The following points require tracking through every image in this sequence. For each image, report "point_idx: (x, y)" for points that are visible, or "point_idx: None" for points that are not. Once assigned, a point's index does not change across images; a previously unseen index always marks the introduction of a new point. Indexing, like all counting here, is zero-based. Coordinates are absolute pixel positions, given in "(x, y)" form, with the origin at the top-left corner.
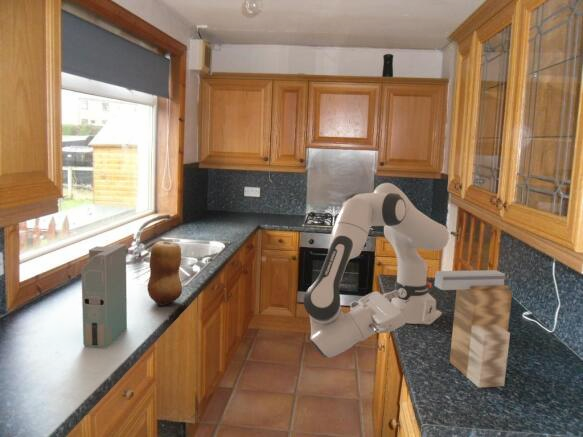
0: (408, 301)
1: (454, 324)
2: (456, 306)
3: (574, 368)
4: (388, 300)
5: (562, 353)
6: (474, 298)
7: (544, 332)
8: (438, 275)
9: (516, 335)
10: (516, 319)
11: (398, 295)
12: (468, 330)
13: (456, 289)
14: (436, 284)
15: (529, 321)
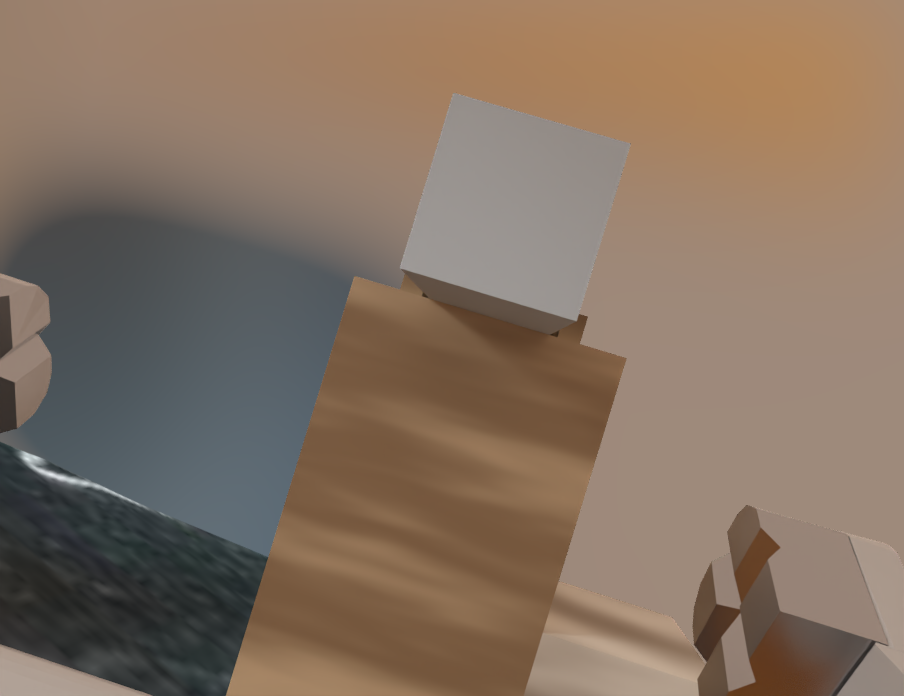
0: (841, 565)
1: (263, 640)
2: (316, 483)
3: None
4: (124, 693)
5: None
6: (607, 409)
7: (178, 526)
8: (520, 145)
9: (134, 564)
10: (38, 488)
11: (17, 401)
12: (486, 678)
13: (558, 328)
14: (454, 254)
15: (84, 489)
